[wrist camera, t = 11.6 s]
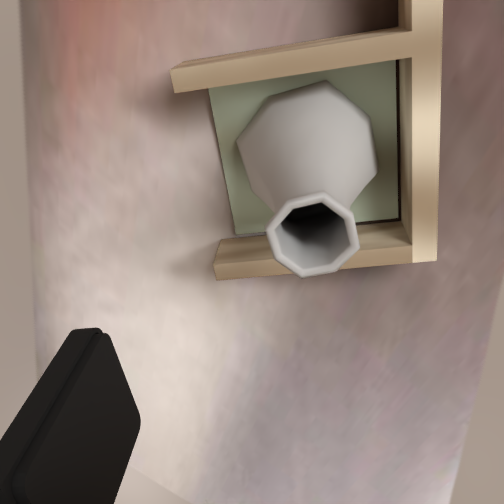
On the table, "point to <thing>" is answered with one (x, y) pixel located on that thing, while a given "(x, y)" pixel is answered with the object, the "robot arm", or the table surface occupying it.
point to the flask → (310, 174)
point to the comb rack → (364, 96)
